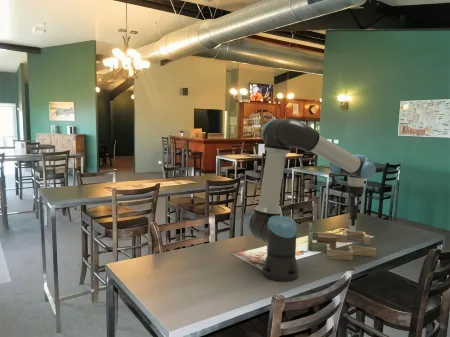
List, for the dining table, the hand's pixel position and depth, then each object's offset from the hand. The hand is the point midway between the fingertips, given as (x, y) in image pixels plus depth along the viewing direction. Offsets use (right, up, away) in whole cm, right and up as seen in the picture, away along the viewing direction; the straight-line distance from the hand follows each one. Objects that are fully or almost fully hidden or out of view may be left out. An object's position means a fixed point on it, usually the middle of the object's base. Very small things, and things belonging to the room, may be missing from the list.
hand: (352, 231), depth 181 cm
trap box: (-5, -9, +3) cm, 11 cm away
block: (-12, -8, +5) cm, 15 cm away
